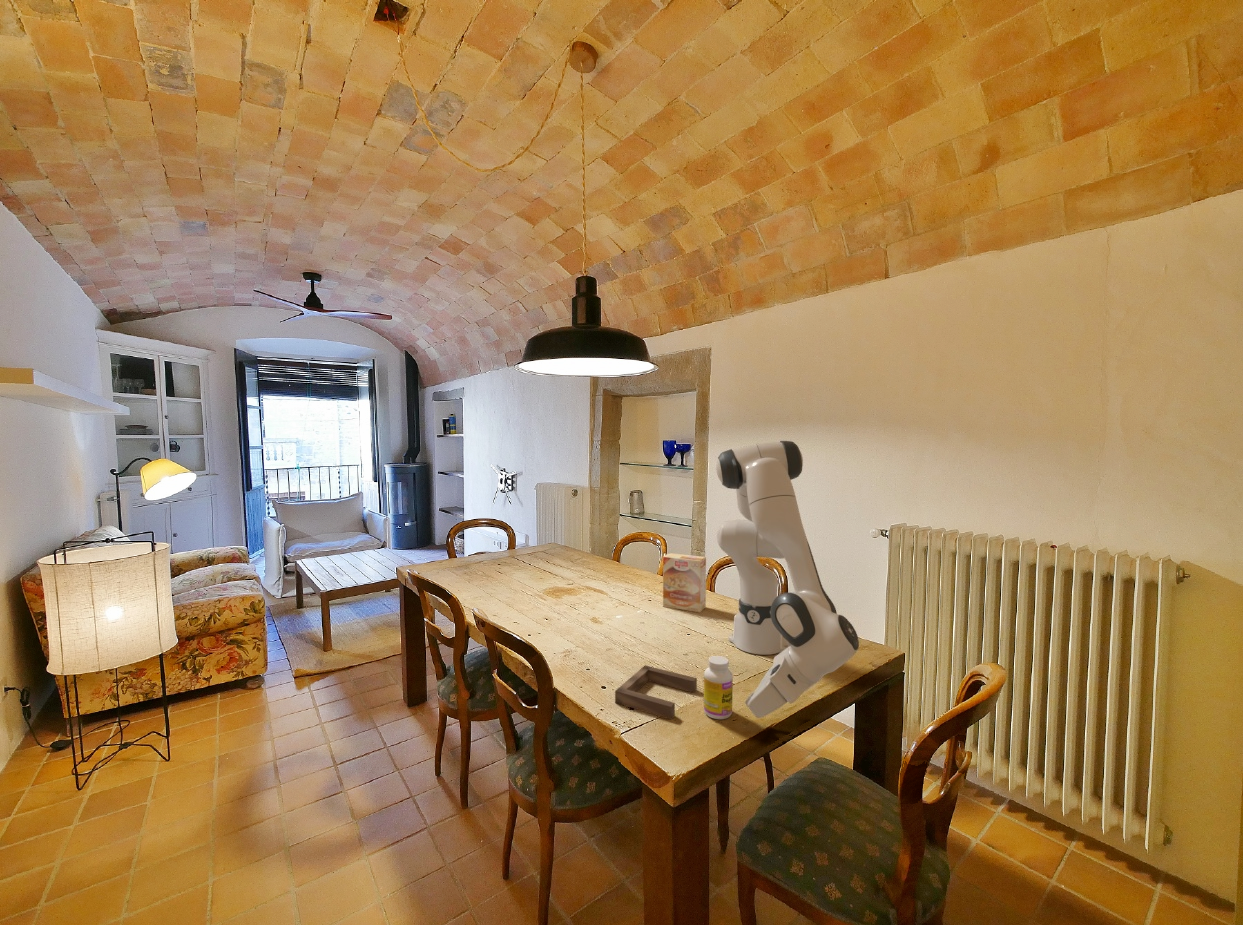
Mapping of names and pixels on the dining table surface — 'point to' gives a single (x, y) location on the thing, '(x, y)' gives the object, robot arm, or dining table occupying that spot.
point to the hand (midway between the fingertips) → (748, 702)
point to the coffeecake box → (684, 582)
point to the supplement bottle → (718, 688)
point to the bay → (650, 704)
